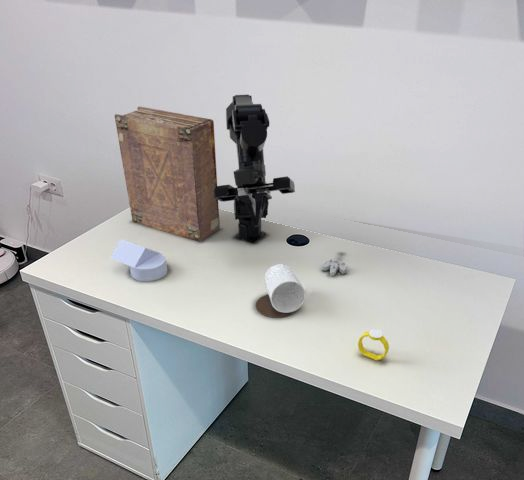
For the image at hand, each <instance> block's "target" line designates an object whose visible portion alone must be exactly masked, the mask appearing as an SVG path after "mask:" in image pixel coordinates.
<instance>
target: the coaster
mask: <svg viewBox="0 0 524 480" xmlns="http://www.w3.org/2000/svg"><path fill="white" fill-rule="evenodd" d="M255 310H256V311H257V312H258V313H259V314H261V315H263V316H265V317H268V318H275V319H279V318H286V317H289V316H292V315H294V314H295V313H296V311H297V310H295V311H293V312H289V313H282V312H279V311H277V310H276V309H275V308H274V307H273V306H272V304H271V301H270V298H269V295H268V294H264V295H263V296H261V297H259V298H258V299H257V300H256V302H255Z"/></svg>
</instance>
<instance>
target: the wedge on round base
mask: <svg viewBox="0 0 524 480" xmlns="http://www.w3.org/2000/svg"><path fill="white" fill-rule="evenodd" d="M109 259H110V260H113V261H115V262H118V263H120V264H123V265H126V266H128V267H129V270H130V276H131V277H132V278H133V279H134V280H136V281H138V282H139V281H140V282H153V281H157V280H160V279H162V278H164V277H165V276H166V275H167V273H168V265H167V258H166V256H165V255H164V254H163V253H161V252H158V251H156V250H153V249H150V248H147V247H144V246H143V245H138V244H136V243H134V242H130V241H127V240H124V239H122V238H121V239H119V242H118V243H117V244H116V247H115V248H114V250H113V252H112V254H111V255H110V256H109Z"/></svg>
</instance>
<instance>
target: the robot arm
mask: <svg viewBox="0 0 524 480" xmlns="http://www.w3.org/2000/svg"><path fill="white" fill-rule="evenodd" d="M252 97H253V96H252V95H250V94H235V95H233V96H232V101H231V103H229V105H228V106H227V107H226V108H225V124H226V126H225V127H226V130H227V131H228V132H229V138H230V140H231V141H232V142H233V143H234V144H235V146H236V155H237V165H238V169H235V170H234V171H233V179H234V182H235V186H236V187H234V186H233V185H230V184H223V185H217V186H216V187H215V189H214V198H215V199H217V200H218V202H219V201H220V202H232V201H233V214H234V220H236V221H237V220H238V233H236V234H234V238H235V239H238V240H241V241H244V242H248V243H251V244H255V243H256V242H258V241H259V240H261V239H262V238H264V237H265V236H267V233H266V232H265V231H262V219H266V218H267V216H268V215H269V214H268V213H269V200H272V199H273V196H272V195H271V194H272V193H271V192H275V191H277V192H278V191H279V192H280V193H281V194H282V195H287V194H292V193H296V189H295V186H296V185H295V182H294V181H293V180H292V179H291V178H290V177H289V176H281V177H274V178H273V179H272V182H268V183H267V182H266V174H267V173H266V164H265V158H264V157H265V154H264V148H265V144H266V141H267V138H268V128H270V119H269V115H268V113H267V112H266V109H265V108H263V105H262V103H254V102H253V98H252Z"/></svg>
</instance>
